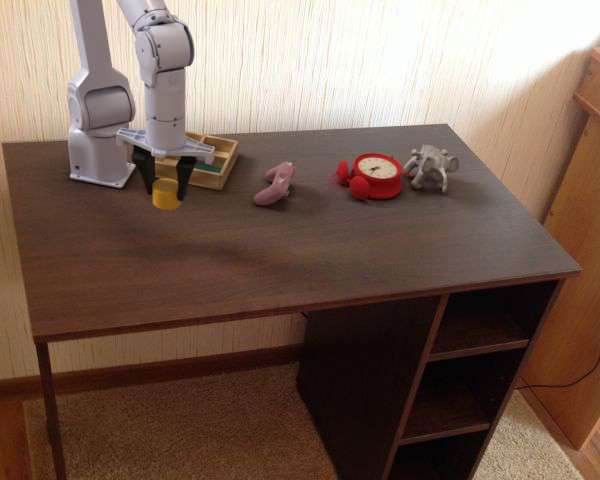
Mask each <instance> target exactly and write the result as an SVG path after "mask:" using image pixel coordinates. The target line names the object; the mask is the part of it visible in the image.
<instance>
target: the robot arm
mask: <svg viewBox="0 0 600 480" xmlns="http://www.w3.org/2000/svg"><path fill="white" fill-rule="evenodd" d="M68 1H69V7H70V13H71V17H72V18H71V19H72V24H73V29H74V34H75V39H76V45H77V52H78V56H79V57H78V58H79V63H80V68H79V69H78V71H76V73H75V74H74V75H73V76H72V77H71V78H70V79H69V81H67V94H68V95H67V96H68V99H67V105H68V111H69V114H70V115H69V116H70V118H71V121H72V123H71V125H70V127H69V130H68V134H67V135H68V136H67V146H68V147H67V148H68V155H69V161H70V162H69V163H70V164H69V165H70V174H69V178H70V179H72V180H76V181H81V182H86V183H91V184H96V185H102V186H105V187H106V186H107V187H110V188H111V187H112V188H117V189H122V188H123V187H124V186H125V184H126V183H127V181H128V180H129V178H130V177H131V175H132V174H133V172H134V170H135V169H137V170H138V172H139V174H140V176H141V179H142V181H143V183H144V186H145V190H146V193H147V195H149V196H152V184H153V182H154V181H156V180H157V179H156V178H157V177H156V176H155V157H159V158H165V157H166V156H181V158H180V159H179V161H178V163H177V164H176V171H177V177H178V201H181V202H184V199H185V197H186V196H187V190H188V185H189V184H188V182H189V179H190V176H191V174H192V171H193V169H194V167H195V165H196V163H197V161H198V160H202V161H205V164H210V165H211V164H212V162H213V160H214V157H215V147H213V146H209V145H206V144H203V143H201V142H198V141H196V140H194V139H191V138H189V137H187V136H185V131H186V95H187V94H186V91H187V90H186V86H187V81H186V79H187V69H186V68H187V67H191V66H192V65H193V63H194V60H195V55H196V53H195V51H196V50H195V42H194V37H193V36H192V33H191V31H190V28H189V26H188V24H187V23H186V22H185V21H183V20H182V19H179V17H178V16H177V15H176V14H172V13H171V11H170V10H169V8H168V6H167V4H166V2H165V0H115V1H116V3H117V5H118V7H119V9H120V11H121V13H122V14H123V16H124V18H125V20H126V22H127V24H128V26H129V28H130V30H131V31H132V34H133V36H134V37H135V40H134V42H133V43H134V50H135V55H136V59H137V62H138V65H139V75H140V79H141V81H143V85H144V86H143V87H144V115H145V116H144V117H145V121H144V122H145V129H144V128H143V129H141V128H139V129H138V128H137V129H136V128H130V123H132V122H133V121H134V120H135V117H136V114H137V107H136V101H135V98H134V95H133V92H132V89H131V86H130V81H129V79H128V77H127V76H126V75H125V74H124V73H123V72H121V71H119V70H118V69H116V68H114V67H113V62H112V56H111V50H110V49H111V48H110V44H109V38H108V37H109V36H108V30H107V25H106V19H105V18H106V17H105V12H104V6H103V0H68ZM127 146H130V147H132V153H131V155H130V158H131V161H132V163H131V162H128V149H127Z"/></svg>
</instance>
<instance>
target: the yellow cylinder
mask: <svg viewBox="0 0 600 480" xmlns="http://www.w3.org/2000/svg"><path fill="white" fill-rule="evenodd" d="M151 197H152V204H153V206H154V207H156V208H157V209H160V210H162V211H173V210H175V209H177V208H179V207H180V206H181V203H182V201H178V181H176V180H174V179H170V178H158V179H156V181H154V182H153V184H152V195H151Z"/></svg>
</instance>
